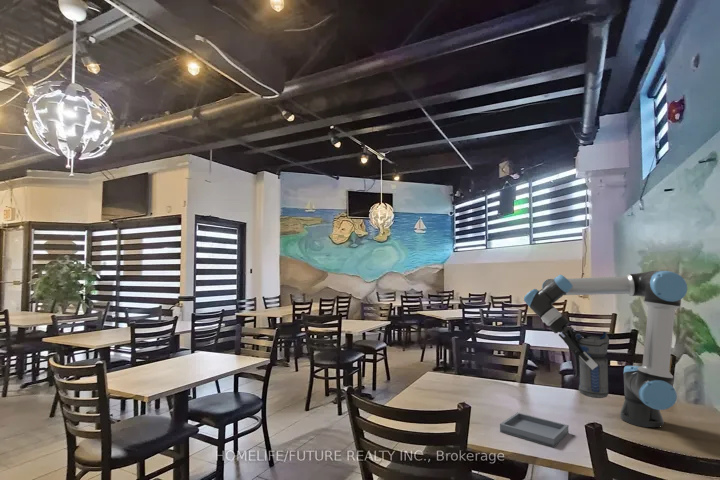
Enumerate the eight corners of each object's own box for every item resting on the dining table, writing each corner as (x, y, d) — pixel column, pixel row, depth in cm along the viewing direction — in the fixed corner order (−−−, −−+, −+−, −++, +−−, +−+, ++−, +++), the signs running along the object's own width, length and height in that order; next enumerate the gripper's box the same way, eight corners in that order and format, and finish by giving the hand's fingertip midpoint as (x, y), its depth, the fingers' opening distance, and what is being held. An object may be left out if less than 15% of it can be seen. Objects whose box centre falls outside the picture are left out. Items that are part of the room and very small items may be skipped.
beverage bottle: (570, 389, 166) (569, 328, 167) (607, 393, 161) (605, 330, 162) (574, 396, 156) (572, 331, 158) (613, 401, 151) (611, 334, 153)
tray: (568, 433, 158) (568, 425, 158) (553, 447, 145) (553, 439, 145) (517, 419, 171) (517, 412, 172) (500, 431, 158) (499, 423, 158)
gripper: (557, 324, 179) (598, 366, 167) (539, 329, 162) (583, 376, 151) (570, 313, 176) (612, 355, 164) (553, 317, 159) (599, 364, 147)
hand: (598, 365), depth 157 cm, fingers closed on beverage bottle, 10 cm apart
